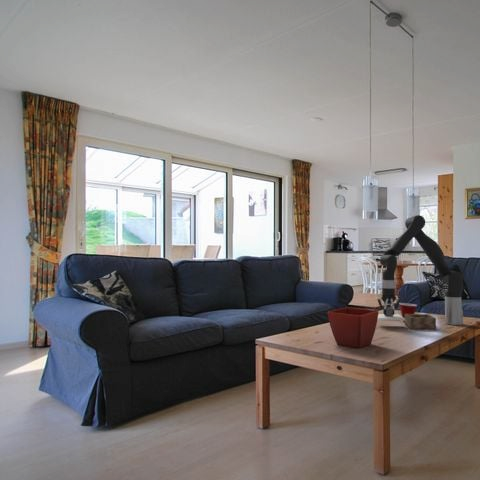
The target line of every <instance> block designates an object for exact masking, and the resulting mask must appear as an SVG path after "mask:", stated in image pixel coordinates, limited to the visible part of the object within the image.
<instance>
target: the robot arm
mask: <svg viewBox="0 0 480 480" xmlns="http://www.w3.org/2000/svg"><path fill="white" fill-rule="evenodd" d="M404 225H405V228H406V230H405V231H404V232H403V233H402V234H400V235H399V237H397V238H396V239H395V241H394V242H393V244H392V245H391V246H390V248H389V249H387V250H386V251H385V252H383V254H382V255H380V258H379V263H380V264H381V266H383V267H386V269H385V270H383V271H382V282H381V297H380V298H377V299H376V301H377V303H378V305H379V308H380V309H382V311H383V313H382V314H384V315H385V316H386V308H387V306H388V305H390V308H393V315H394V314H395V310H397V309H398V308H399V307H400V304H399V303H401V299H400V298H397V296H396V282H395V274H396V269H397V265H398V258H397V256H400V255H401V254H402V252H403V251H404V250H405V249H406V247H407V246H408V244H409V243H410V242H411V241H412V239H415V240H416V242H417V244H418V245H419V246H420V247H421V249H422V250H423V252H424V253H425V255H426V256H427V257H428V259H429V260H430V262H431V263H432V266H433V267H434V268H435V269H436V270H437V272H438V274H439V276H440V278H441V280H442V282H443V283H444V284H445V285H447V290H446V291H444V315H445V317H444V318H445V319H444V323H445V325H449V324H450V326H464V312H463V311H464V310H463V308H462V294H463V289H464V286H463V285H464V277H463V274H461V272H458V271H453V270H452V269H451V267H450V266H449V264H447V261H446V259H445V258H446V257H445V254H444V251H443V249H442V248H441V247H440V245H439V243H438V242H437V241H436V240H434V239H432V238H431V237H430V236H428V235H427V234H426V233H425V232H424V231H423V228H424V227H425V225H426V219H425V218H424V216H423V215H419V214H418V215H414V216H411V217H408V218H406V220H405V221H404ZM382 302H383V304H382ZM394 302H395V303H394Z"/></svg>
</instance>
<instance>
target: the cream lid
mask: <svg viewBox="0 0 480 480" xmlns="http://www.w3.org/2000/svg"><path fill="white" fill-rule="evenodd" d="M377 321H381V322H401V321H402V322H403V321H405V318H403V317H402V315H401V314H399V313H398V314H395V313H394V315H393V308H391V307H386V316H385V315H384V314H383V313H378V320H377Z"/></svg>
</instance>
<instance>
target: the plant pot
mask: <svg viewBox="0 0 480 480" xmlns="http://www.w3.org/2000/svg"><path fill="white" fill-rule="evenodd" d="M378 314H379V310H375V309H365V308H355V307H343V308H338V309H333V310H329V311H327V317H328V322H329V325H330V329H331V332H332V336H333V338H334V341H335V343H336V344H337V345H340V346H344V347H345V346H346V347H350V348H357V349H359V348H363V347H366V346H368V345H371V344H372V341H373V340H374V339H373V338H374V335H375V333H376V328H377V326H378V325H377V324H378V321H379V320H378Z"/></svg>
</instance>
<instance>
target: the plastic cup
mask: <svg viewBox="0 0 480 480" xmlns="http://www.w3.org/2000/svg"><path fill="white" fill-rule="evenodd" d="M417 306H418V305H417V304H415V303H414V304H413V303H407V302H400V303H399V308H400V312H401V316H402V317H403V318H405V314H416V313H415V311H416V308H417ZM402 322H403V323H405V321H402Z"/></svg>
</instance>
